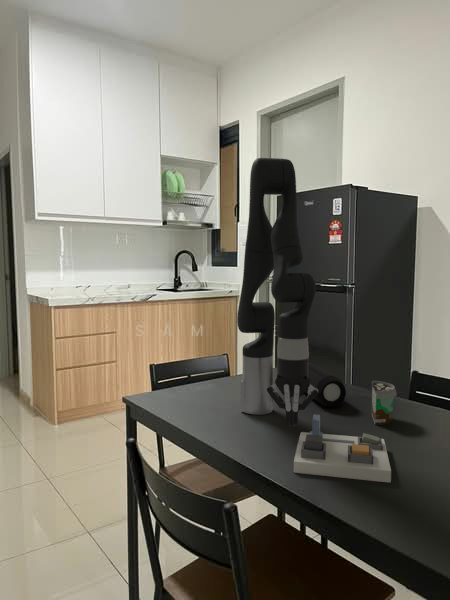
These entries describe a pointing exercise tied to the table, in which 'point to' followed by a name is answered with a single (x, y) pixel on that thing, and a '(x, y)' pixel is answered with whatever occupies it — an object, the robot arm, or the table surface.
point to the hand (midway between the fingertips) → (292, 425)
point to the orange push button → (360, 449)
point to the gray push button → (313, 442)
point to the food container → (382, 402)
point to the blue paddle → (316, 426)
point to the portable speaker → (326, 386)
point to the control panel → (343, 459)
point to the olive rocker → (370, 439)
